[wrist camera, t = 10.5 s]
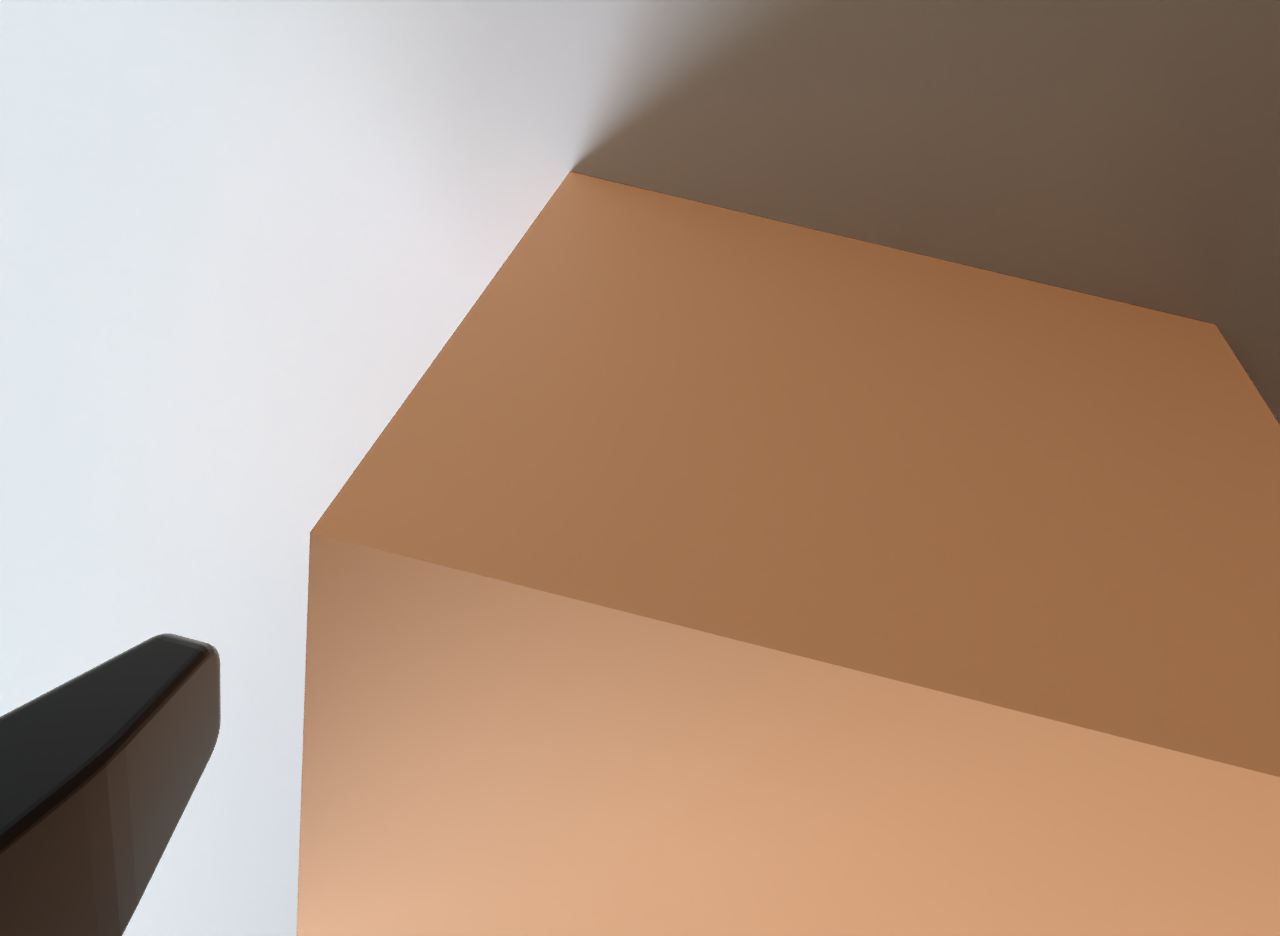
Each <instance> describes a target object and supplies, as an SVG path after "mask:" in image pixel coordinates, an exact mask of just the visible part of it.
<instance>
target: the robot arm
mask: <svg viewBox="0 0 1280 936" xmlns="http://www.w3.org/2000/svg"><path fill="white" fill-rule="evenodd" d="M219 729H220V659H219V654H218V652H217V650H216V648H215V647H214V646H211V645H210V644H208V643H204V642H200V641H197V640H193V639H189V638H185V637H182V636H178V635H174V634H161V635H157V636H155V637H152V638H150V639H148V640H146V641H144V642H142V643H141V644H139V645H137V646H135V647H133V648H131V649H129V650H127V651H125V652H123V653H122V654H120V655H118V656H116V657H114V658H112V659H110V660H108V661H106V662H104V663H102V664H101V665H99V666H97V667H95V668H93V669H91V670H89V671H87V672H85V673H83V674H81V675H80V676H78V677H76V678H74V679H72V680H70V681H68V682H66V683H64V684H62V685H60V686H59V687H57V688H55V689H53V690H51V691H49V692H47V693H45V694H43V695H41V696H39V697H38V698H36V699H34V700H32V701H30V702H28V703H26V704H24V705H22V706H20V707H18V708H17V709H15V710H13V711H11V712H9V713H7V714H5V715H3V716H1V717H0V936H122V935H123V933H124V931H125V929H126V927H127V925H128V923H129V921H130V919H131V917H132V915H133V913H134V911H135V910H136V908H137V906H138V904H139V902H140V900H141V897H142V895H143V893H144V891H145V889H146V887H147V885H148V883H149V881H150V879H151V877H152V875H153V873H154V871H155V869H156V867H157V865H158V863H159V861H160V859H161V857H162V855H163V853H164V851H165V849H166V846H167V844H168V842H169V840H170V838H171V836H172V834H173V832H174V830H175V828H176V826H177V824H178V822H179V820H180V818H181V816H182V814H183V812H184V810H185V808H186V806H187V804H188V802H189V800H190V798H191V795H192V793H193V791H194V789H195V787H196V785H197V783H198V781H199V779H200V777H201V775H202V773H203V771H204V769H205V767H206V765H207V763H208V761H209V759H210V757H211V754H212V752H213V750H214V747H215V744H216V742H217V738H218V734H219Z"/></svg>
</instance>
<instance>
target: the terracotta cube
mask: <svg viewBox="0 0 1280 936" xmlns="http://www.w3.org/2000/svg"><path fill="white" fill-rule="evenodd" d="M297 936H1280V425H1279V423H1278V422H1277V420H1276V418H1275V417H1274V415H1273V414H1272V412H1271V411H1270V409H1269V407H1268V406H1267V404H1266V403H1265V401H1264V400H1263V398H1262V396H1261V395H1260V393H1259V392H1258V390H1257V389H1256V387H1255V386H1254V384H1253V382H1252V381H1251V379H1250V378H1249V376H1248V375H1247V373H1246V371H1245V370H1244V368H1243V367H1242V365H1241V364H1240V362H1239V360H1238V359H1237V357H1236V356H1235V354H1234V353H1233V351H1232V350H1231V348H1230V346H1229V345H1228V343H1227V342H1226V340H1225V339H1224V337H1223V335H1222V334H1221V332H1220V331H1219V329H1218V328H1217V326H1216V325H1215V324H1211V323H1207V322H1203V321H1199V320H1194V319H1190V318H1186V317H1182V316H1177V315H1173V314H1169V313H1165V312H1161V311H1156V310H1152V309H1148V308H1144V307H1140V306H1135V305H1131V304H1127V303H1123V302H1118V301H1114V300H1110V299H1106V298H1102V297H1097V296H1093V295H1089V294H1085V293H1080V292H1076V291H1072V290H1068V289H1064V288H1059V287H1055V286H1051V285H1047V284H1042V283H1038V282H1034V281H1030V280H1026V279H1021V278H1017V277H1013V276H1009V275H1004V274H1000V273H996V272H992V271H988V270H983V269H979V268H975V267H971V266H966V265H962V264H958V263H954V262H950V261H945V260H941V259H937V258H933V257H928V256H924V255H920V254H916V253H912V252H907V251H903V250H899V249H895V248H891V247H886V246H882V245H878V244H874V243H869V242H865V241H861V240H857V239H853V238H848V237H844V236H840V235H836V234H831V233H827V232H823V231H819V230H815V229H810V228H806V227H802V226H798V225H793V224H789V223H785V222H781V221H777V220H772V219H768V218H764V217H760V216H755V215H751V214H747V213H743V212H739V211H734V210H730V209H726V208H722V207H717V206H713V205H709V204H705V203H701V202H696V201H692V200H688V199H684V198H680V197H675V196H671V195H667V194H663V193H658V192H654V191H650V190H646V189H642V188H637V187H633V186H629V185H625V184H620V183H616V182H612V181H608V180H604V179H599V178H595V177H591V176H587V175H582V174H578V173H574V172H569V174H568V175H567V176H566V178H565V179H564V181H563V182H562V183H561V185H560V186H559V187H558V189H557V190H556V192H555V193H554V194H553V196H552V197H551V199H550V200H549V201H548V203H547V204H546V206H545V207H544V208H543V210H542V211H541V212H540V214H539V215H538V217H537V218H536V219H535V221H534V222H533V224H532V225H531V226H530V228H529V229H528V231H527V232H526V233H525V235H524V236H523V237H522V239H521V240H520V242H519V243H518V244H517V246H516V247H515V249H514V250H513V251H512V253H511V254H510V256H509V257H508V258H507V260H506V261H505V262H504V264H503V265H502V267H501V268H500V269H499V271H498V272H497V274H496V275H495V276H494V278H493V279H492V281H491V282H490V283H489V285H488V286H487V287H486V289H485V290H484V292H483V293H482V294H481V296H480V297H479V299H478V300H477V301H476V303H475V304H474V306H473V307H472V308H471V310H470V311H469V313H468V314H467V315H466V317H465V318H464V319H463V321H462V322H461V324H460V325H459V326H458V328H457V329H456V331H455V332H454V333H453V335H452V336H451V338H450V339H449V340H448V342H447V343H446V344H445V346H444V347H443V349H442V350H441V351H440V353H439V354H438V356H437V357H436V358H435V360H434V361H433V363H432V364H431V365H430V367H429V368H428V369H427V371H426V372H425V374H424V375H423V376H422V378H421V379H420V381H419V382H418V383H417V385H416V386H415V388H414V389H413V390H412V392H411V393H410V394H409V396H408V397H407V399H406V400H405V401H404V403H403V404H402V406H401V407H400V408H399V410H398V411H397V413H396V414H395V415H394V417H393V418H392V419H391V421H390V422H389V424H388V425H387V426H386V428H385V429H384V431H383V432H382V433H381V435H380V436H379V438H378V439H377V440H376V442H375V443H374V445H373V446H372V447H371V449H370V450H369V451H368V453H367V454H366V456H365V457H364V458H363V460H362V461H361V463H360V464H359V465H358V467H357V468H356V470H355V471H354V472H353V474H352V475H351V476H350V478H349V479H348V481H347V482H346V483H345V485H344V486H343V488H342V489H341V490H340V492H339V493H338V495H337V496H336V497H335V499H334V500H333V501H332V503H331V504H330V506H329V507H328V508H327V510H326V511H325V513H324V514H323V515H322V517H321V518H320V520H319V521H318V522H317V524H316V525H315V526H314V528H313V529H312V531H311V532H310V554H309V584H308V613H307V642H306V672H305V701H304V730H303V760H302V789H301V819H300V848H299V877H298V907H297Z"/></svg>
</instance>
